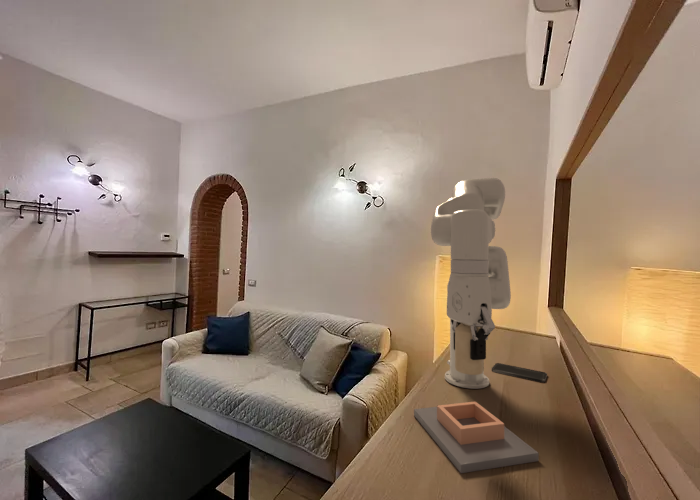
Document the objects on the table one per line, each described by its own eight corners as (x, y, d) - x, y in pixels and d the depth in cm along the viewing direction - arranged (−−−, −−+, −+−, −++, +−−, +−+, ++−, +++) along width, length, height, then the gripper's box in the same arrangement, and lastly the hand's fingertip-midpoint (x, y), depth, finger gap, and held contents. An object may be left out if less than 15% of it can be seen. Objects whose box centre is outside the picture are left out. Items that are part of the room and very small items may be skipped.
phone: (544, 380, 94) (490, 369, 103) (544, 384, 94) (490, 372, 103) (547, 372, 100) (496, 362, 109) (547, 376, 100) (496, 365, 109)
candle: (485, 376, 63) (485, 326, 64) (456, 374, 64) (457, 324, 65) (480, 366, 69) (480, 320, 69) (453, 364, 70) (453, 319, 70)
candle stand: (414, 415, 75) (414, 396, 75) (474, 408, 78) (474, 390, 78) (460, 473, 55) (460, 447, 55) (538, 461, 59) (538, 436, 59)
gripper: (433, 267, 75) (433, 344, 74) (478, 270, 58) (477, 370, 57) (462, 267, 76) (462, 342, 76) (513, 270, 59) (513, 367, 59)
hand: (469, 353), depth 67 cm, fingers closed on candle, 5 cm apart
